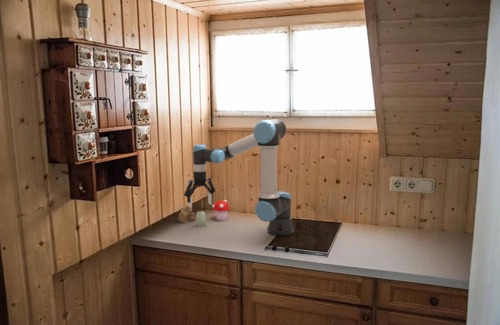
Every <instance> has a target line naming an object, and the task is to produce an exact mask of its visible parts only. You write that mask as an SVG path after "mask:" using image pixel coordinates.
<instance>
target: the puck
mask: <svg viewBox="0 0 500 325" xmlns="http://www.w3.org/2000/svg"><path fill="white" fill-rule="evenodd" d="M206 225H207V224H206V211H202V210H201V211H197V212H196V226H197V227H198V228H203V227H206Z"/></svg>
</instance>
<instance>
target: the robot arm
mask: <svg viewBox="0 0 500 325" xmlns="http://www.w3.org/2000/svg"><path fill="white" fill-rule="evenodd" d="M286 133H287V125H286V123H285V122H284V121H283V120H281V119H280V118H273V119H264V120H261V121H259V122H257V124H255V126H254V128H253V133H252V134H249V135H247V136H245V137H242V138H240V139H239V140H236V141H234V142H232V143H230V144H227V145H226V146H224V147H218V148H214V149H213V148H211V149H210V148H207V146H206V144H199V143H198V144H195V145H193V147H192V161H193V163H192V164H193V165H192V166H193V168H192V170H193V172H192V173H193V176H192V177H193V179H192V180H191V179H189V180H188V184H187V187H186V189H185V191H184V194H183V196H184V197H186V199H187V200H186V202H187V204H189V208H192V209H193V196H192V195H193V194H194V193H195V190H196V189H197V188H200V187H204V188H205V189H206V191H207V192H208V193H207V203H208V204H209V205H213V202H212V199H213V196H214V193H215V192H216V189H215V187H214V184H213V182H212V178H211V177H210V176H209V177H208V176H207V163H212V164H213V163H214V164H222V163H223V162H224V161H225V160H230V159H232V158H234V157H236V156H238V155H241V154H242V153H245V152H247V151H249V150H251V149H255V148H256V147H258V148H259V150H260V193H259V194H258V196H257V200H258V202H257V203H256V204H255V207H254V213H255V215H256V216H257V218H258V219H259V220H261V221H262V222H267V223H268V224H267V227H266V230H267V233H268V234H271V235H273V236H288V235H292V234H293V233H294V230H295V229H294V228H295V227H294V224H293V221H292V218H291V217H292V211H291V210H292V195H291V193H289V192H288V191H287V192H286V191H278V168H277V167H278V164H277V163H278V161H277V160H278V157H277V156H278V154H277V148H278V147H279V146H280V140H281V139H283V138H284V137H285V136H286ZM206 182H207V183H206ZM208 185H209V186H208Z"/></svg>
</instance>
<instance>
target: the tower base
mask: <svg viewBox="0 0 500 325" xmlns="http://www.w3.org/2000/svg"><path fill="white" fill-rule="evenodd" d="M178 221H179V222H181V223H183V224H188V223H191V222H196V213H194V212H192V214H188V215H184V214H182V213H181V212H178Z"/></svg>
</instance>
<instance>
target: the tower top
mask: <svg viewBox="0 0 500 325" xmlns="http://www.w3.org/2000/svg"><path fill="white" fill-rule="evenodd" d="M180 213H182V214H184V215H188V214H192V213H193V207H192V208H189V205H188V206H186V207H184V208H183V209H181V208H180Z"/></svg>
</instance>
